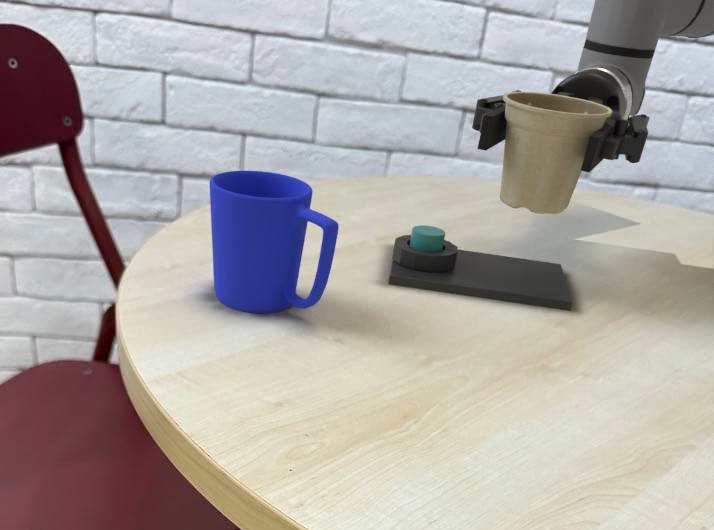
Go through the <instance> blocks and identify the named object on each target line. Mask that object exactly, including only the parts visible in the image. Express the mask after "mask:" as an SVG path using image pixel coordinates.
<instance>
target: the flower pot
mask: <svg viewBox="0 0 714 530" xmlns="http://www.w3.org/2000/svg"><path fill="white" fill-rule="evenodd" d="M502 95H503V100H504V101H505V102H506V107H505V119H506V121H507V124H506V136H505V140H504V149H503V160H502V170H501V179H500V180H501V181H500V191H499V200H500V201H501V202H502V203H503V204H504V205H506V206H508V207H509V208H512V209H519V208H524V209H527V210H528V211H529V212H531V213H534V214H538V215H539V214H541V215H543V214H552V215H555V214H562V213H563V212H564V211H565V210H567V208H568V207H569V205H570V201H571V199H572V197H573V194H574V191H575V189H576V186H577V184H578V181H579V179H580V176H581V174H582V172H583V171H581V167H582V164H583V160H584V157H585V153H586V150H587V146H588V142H589V139H590V136H591V135H592V134H593V133H595V132H596V131H597V130H598V129H601V128H602V127H603V125H604V122H605V120H606V118H607V117H610V116H611V115H612V110H611V109H610V108H609V107H606V106H604V105H601V104H599V103H595V102H592V101H588V100H583V99H578V98H573V97H568V96H562V95H556V94H551V93H547V92H539V91H521V92H512V91H510V92H505V93H503V94H502Z"/></svg>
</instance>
